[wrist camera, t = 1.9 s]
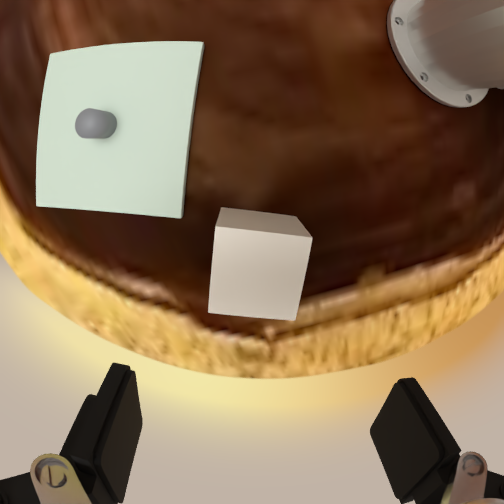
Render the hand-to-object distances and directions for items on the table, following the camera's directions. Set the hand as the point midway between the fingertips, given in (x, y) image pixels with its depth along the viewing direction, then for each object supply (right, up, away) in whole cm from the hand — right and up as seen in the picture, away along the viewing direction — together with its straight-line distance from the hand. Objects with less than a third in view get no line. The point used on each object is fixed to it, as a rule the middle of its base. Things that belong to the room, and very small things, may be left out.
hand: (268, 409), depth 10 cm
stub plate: (-12, +16, +12) cm, 23 cm away
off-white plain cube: (0, +6, +16) cm, 17 cm away
